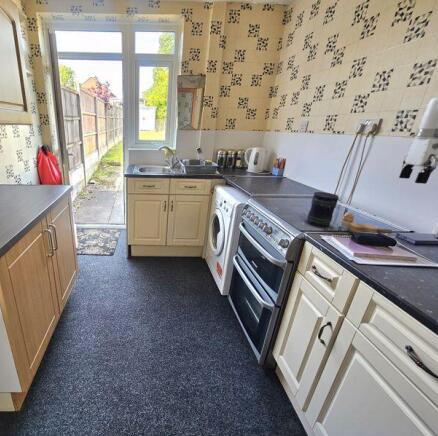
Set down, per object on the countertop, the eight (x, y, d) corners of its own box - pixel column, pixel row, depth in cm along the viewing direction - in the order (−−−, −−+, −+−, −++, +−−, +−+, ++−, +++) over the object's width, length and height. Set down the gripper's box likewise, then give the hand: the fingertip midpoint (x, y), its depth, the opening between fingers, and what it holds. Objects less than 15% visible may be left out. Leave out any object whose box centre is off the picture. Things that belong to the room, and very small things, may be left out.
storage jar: (302, 219, 126) (309, 191, 121) (322, 220, 126) (331, 192, 120) (312, 227, 117) (321, 197, 112) (334, 228, 116) (344, 198, 111)
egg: (349, 225, 121) (354, 211, 118) (354, 229, 116) (359, 215, 113) (336, 223, 122) (340, 210, 120) (340, 227, 117) (345, 214, 115)
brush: (387, 235, 110) (390, 227, 109) (393, 239, 106) (396, 231, 104) (346, 230, 114) (348, 222, 113) (350, 234, 110) (353, 226, 109)
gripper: (464, 135, 81) (440, 186, 87) (427, 134, 96) (409, 177, 102) (435, 134, 83) (414, 184, 89) (403, 133, 98) (387, 175, 104)
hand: (411, 180), depth 96 cm, fingers open, 9 cm apart
